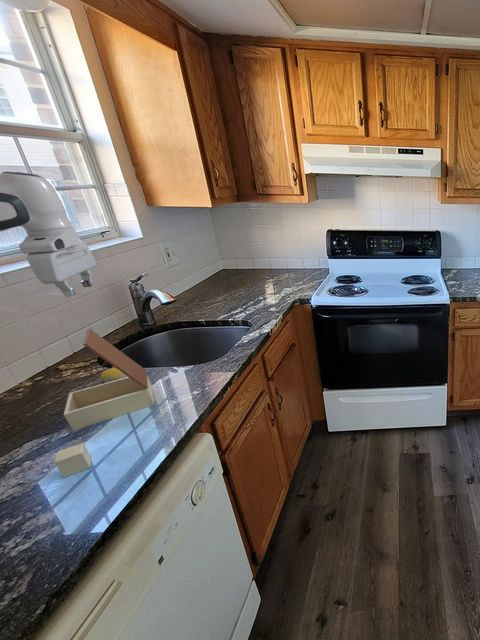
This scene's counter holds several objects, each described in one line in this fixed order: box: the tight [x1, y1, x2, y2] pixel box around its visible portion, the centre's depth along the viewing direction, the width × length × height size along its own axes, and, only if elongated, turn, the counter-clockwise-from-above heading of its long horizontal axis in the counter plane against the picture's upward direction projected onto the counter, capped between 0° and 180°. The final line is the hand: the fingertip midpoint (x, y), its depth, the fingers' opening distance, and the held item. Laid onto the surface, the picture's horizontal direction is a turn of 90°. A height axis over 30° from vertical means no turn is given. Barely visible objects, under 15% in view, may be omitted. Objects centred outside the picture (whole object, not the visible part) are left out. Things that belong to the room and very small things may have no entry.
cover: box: [83, 328, 148, 389], centre depth 103 cm, size 18×14×1 cm
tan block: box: [54, 442, 93, 478], centre depth 83 cm, size 4×4×4 cm
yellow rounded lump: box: [99, 366, 128, 384], centre depth 121 cm, size 8×9×4 cm
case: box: [63, 375, 155, 432], centre depth 105 cm, size 18×14×5 cm
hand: (80, 291), depth 100 cm, fingers open, 8 cm apart
